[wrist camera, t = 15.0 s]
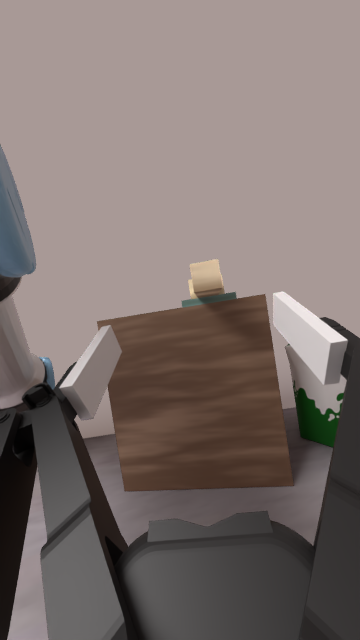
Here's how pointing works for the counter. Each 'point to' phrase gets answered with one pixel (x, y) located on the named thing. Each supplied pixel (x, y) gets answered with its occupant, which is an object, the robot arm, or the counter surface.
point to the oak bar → (205, 279)
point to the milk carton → (315, 401)
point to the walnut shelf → (199, 397)
